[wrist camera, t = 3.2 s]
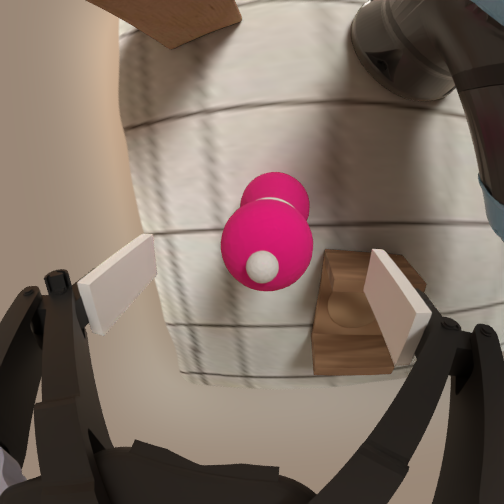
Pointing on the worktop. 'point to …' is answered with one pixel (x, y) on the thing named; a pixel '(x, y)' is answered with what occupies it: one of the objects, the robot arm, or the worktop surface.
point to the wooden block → (174, 17)
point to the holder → (351, 317)
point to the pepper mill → (269, 234)
